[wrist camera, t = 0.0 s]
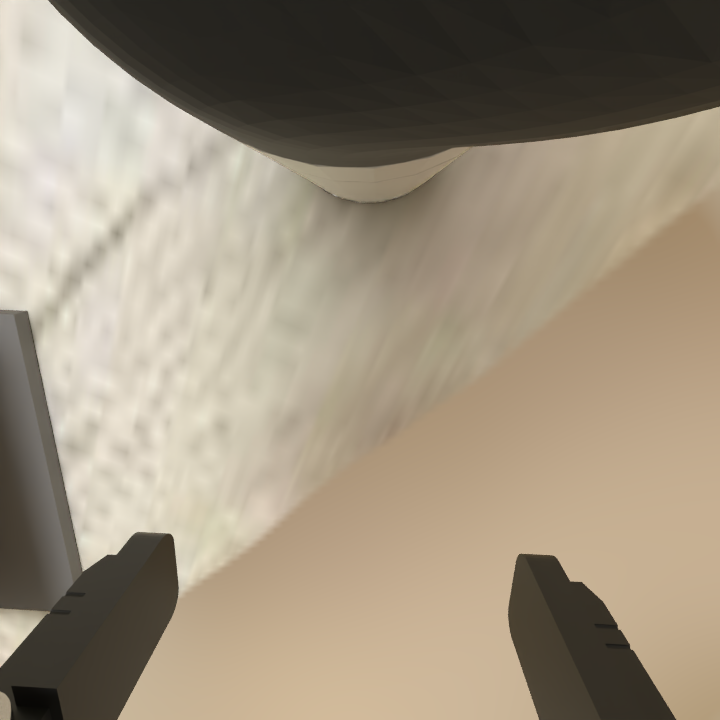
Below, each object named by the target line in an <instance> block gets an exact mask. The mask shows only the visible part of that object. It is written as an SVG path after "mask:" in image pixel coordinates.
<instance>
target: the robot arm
mask: <svg viewBox="0 0 720 720" xmlns="http://www.w3.org/2000/svg"><path fill="white" fill-rule="evenodd" d="M48 1H49V2H50V3H51V4H52V5H53V6H54V7H55V8H56V9H57V11H58V12H59V13H60V14H61V15H62V16H63V17H65V18H66V19H67V20H68V21H69V22H70V23H71V24H72V25H73V26H74V27H75V28H76V29H77V30H78V31H79V32H80V33H81V34H82V35H83V36H84V37H85V38H87V39H88V40H89V41H90V42H91V43H92V44H93V45H94V46H95V47H96V48H98V49H99V50H100V51H101V52H102V53H104V54H105V55H106V56H107V57H109V58H110V59H111V60H112V61H114V62H115V63H116V64H117V65H118V66H120V67H121V68H122V69H123V70H125V71H126V72H127V73H128V74H130V75H131V76H132V77H134V78H135V79H136V80H138V81H139V82H141V83H142V84H144V85H145V86H147V87H148V88H149V89H151V90H152V91H154V92H155V93H157V94H158V95H160V96H161V97H163V98H164V99H166V100H167V101H169V102H170V103H172V104H173V105H175V106H177V107H178V108H180V109H182V110H183V111H185V112H187V113H189V114H190V115H192V116H194V117H196V118H198V119H199V120H201V121H203V122H205V123H206V124H208V125H210V126H212V127H213V128H215V129H217V130H219V131H221V132H223V133H224V134H226V135H228V136H230V137H232V138H234V139H235V140H237V141H239V142H241V143H243V144H244V145H246V146H248V147H250V148H252V149H253V150H255V151H257V152H259V153H261V154H263V155H265V156H266V157H268V158H270V159H272V160H273V161H275V162H277V163H279V164H281V165H282V166H284V167H286V168H288V169H289V170H291V171H293V172H295V173H296V174H298V175H300V176H302V177H304V178H305V179H307V180H309V181H311V182H312V183H314V184H316V185H318V186H319V187H321V188H323V190H324V191H326V192H328V193H330V194H332V195H334V196H336V197H339V198H343V199H345V200H349V201H354V202H361V203H376V202H385V201H389V200H392V199H396V198H399V197H402V196H404V195H407V194H409V192H410V191H412V190H414V189H416V188H418V187H419V186H420V185H422V184H423V183H425V182H426V181H428V180H429V179H430V178H432V177H433V176H434V175H436V174H437V173H438V172H440V171H441V170H442V169H444V168H445V167H446V166H448V165H449V164H450V163H452V162H453V161H454V160H456V159H457V158H458V157H460V156H461V155H462V154H464V153H465V152H466V151H468V150H469V149H470V148H472V147H473V146H487V145H501V144H512V143H524V142H535V141H544V140H552V139H560V138H569V137H577V136H583V135H589V134H596V133H602V132H608V131H614V130H620V129H625V128H630V127H635V126H639V125H644V124H649V123H654V122H658V121H663V120H668V119H672V118H677V117H681V116H684V115H688V114H692V113H696V112H700V111H704V110H708V109H712V108H716V107H719V106H720V0H48ZM178 589H179V587H178V576H177V566H176V556H175V547H174V539H173V537H172V535H171V534H165V533H146V532H137V533H135V534H134V535H133V536H132V537H131V538H130V539H129V540H128V542H127V543H126V544H125V545H124V546H123V548H122V549H121V550H120V551H119V553H118V554H117V555H107V556H105V557H104V558H102V559H101V560H100V561H98V562H97V563H95V564H94V565H92V566H91V567H90V568H88V569H87V570H85V571H84V572H83V573H82V574H81V575H80V577H79V578H78V579H77V580H76V581H75V582H74V583H73V585H72V586H71V587H70V588H69V589H68V590H67V592H66V595H65V596H62V597H61V598H60V600H59V601H58V602H57V603H56V604H55V605H54V607H53V608H52V609H51V612H50V614H47V615H46V616H45V617H44V618H43V619H42V620H41V622H40V623H39V624H38V625H37V626H36V627H35V628H34V630H33V631H32V632H31V633H30V634H29V635H28V637H27V638H26V639H25V640H24V641H23V642H22V643H21V645H20V646H19V647H18V648H17V649H16V650H15V652H14V653H13V654H12V655H11V656H10V657H9V658H8V660H7V661H6V662H5V663H4V664H3V665H2V667H1V668H0V720H117V719H118V717H119V715H120V713H121V711H122V710H123V708H124V706H125V704H126V702H127V700H128V698H129V696H130V694H131V693H132V691H133V689H134V687H135V685H136V683H137V681H138V679H139V677H140V676H141V674H142V672H143V670H144V668H145V666H146V664H147V663H148V661H149V659H150V657H151V655H152V653H153V651H154V649H155V648H156V646H157V644H158V642H159V640H160V638H161V636H162V634H163V633H164V630H165V629H166V627H167V625H168V623H169V621H170V619H171V617H172V615H173V613H174V610H175V607H176V603H177V599H178ZM508 617H509V627H510V633H511V637H512V640H513V643H514V646H515V649H516V652H517V655H518V658H519V660H520V664H521V667H522V670H523V673H524V676H525V679H526V682H527V685H528V688H529V690H530V693H531V696H532V699H533V702H534V705H535V708H536V711H537V714H538V717H539V720H676V719H675V717H674V715H673V714H672V712H671V711H670V709H669V707H668V706H667V704H666V702H665V701H664V700H663V698H662V696H661V694H660V693H659V691H658V690H657V688H656V686H655V685H654V684H653V682H652V680H651V678H650V677H649V675H648V673H647V672H646V670H645V669H644V667H643V665H642V664H641V662H640V661H639V659H638V657H637V656H636V654H635V652H634V651H633V650H631V649H630V644H629V643H628V641H627V640H626V638H625V636H624V635H623V633H622V632H621V630H618V625H617V623H616V622H615V620H614V619H613V617H612V616H611V614H610V612H609V611H608V609H607V607H606V606H605V604H604V603H603V601H602V600H600V599H599V598H598V597H597V596H596V595H595V594H594V593H593V592H592V591H591V590H590V589H588V588H587V587H586V586H585V585H584V584H583V583H582V582H570V580H569V579H568V577H567V575H566V573H565V572H564V570H563V568H562V566H561V565H560V563H559V561H558V560H557V558H556V557H555V556H550V555H533V554H519V555H518V557H517V560H516V565H515V572H514V577H513V583H512V589H511V595H510V601H509V611H508Z"/></svg>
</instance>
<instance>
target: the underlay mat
mask: <svg viewBox="0 0 720 720" xmlns="http://www.w3.org/2000/svg"><path fill="white" fill-rule="evenodd" d="M81 574H82V569H81V565H80V560H79V555H78V550H77V546H76V541H75V536H74V531H73V527H72V522H71V517H70V513H69V508H68V503H67V498H66V494H65V489H64V484H63V480H62V475H61V470H60V465H59V461H58V456H57V451H56V446H55V442H54V437H53V432H52V428H51V423H50V418H49V413H48V409H47V404H46V399H45V395H44V390H43V385H42V380H41V376H40V371H39V366H38V361H37V357H36V352H35V347H34V343H33V338H32V333H31V328H30V324H29V319H28V314H27V311H12V310H0V608H4V609H21V610H38V611H51V609H52V608H53V607H54V605H55V604H56V603H57V602H58V601H59V600H60V598H61V597H62V596H65V595H66V592H67V590H68V589H69V588H70V587H71V586H72V585H73V583H74V582H75V581H76V580H77V579H78V578H79V577H80V575H81Z"/></svg>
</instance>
